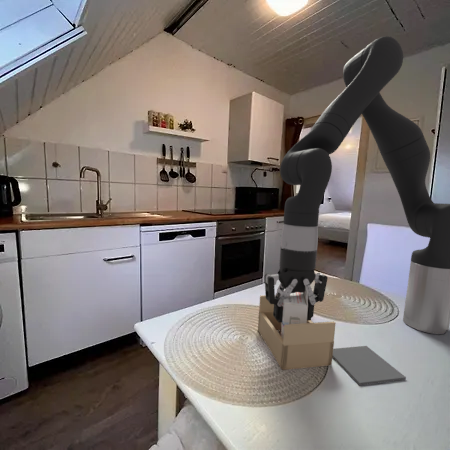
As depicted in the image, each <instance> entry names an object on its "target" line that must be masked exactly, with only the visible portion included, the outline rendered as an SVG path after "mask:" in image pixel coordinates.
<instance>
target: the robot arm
mask: <svg viewBox="0 0 450 450" xmlns="http://www.w3.org/2000/svg"><path fill="white" fill-rule="evenodd" d="M403 63H404V52H403V48H402V46H401V44H400V43H399V41H398V40H397V39H396V38H394V37H392V36H388V35H386V36H385V35H384V36H380V37H379V38H376V39H374V40H373V41H372V42H370V43H369V44H368V45H366V46H365V47H364V48H362V49H361V50H360V51H359V52H358V53H356V54H355V55H354V56H353V57H351V58H350V59H349V60H348V61H347V62H346V63H345V65H344V66H343V70H342V78H343V82H344V85H345V88H344V90H343V91H341V93H340V94H338V96H337V97H336V98H335V99H333V100H332V101H331V103H330V104H329V105H328V106H327V107H326V108H325V109H324V111H322V113H321V115H320V116H319V117H318V118H317V120H316V121H315V123H314V124H313V126H312V127H311V129H310V130H309V132H307V134H305V135H304V136H303V137H301V138H300V140H298V141H297V142H296V143H295V144H294V145H293V146H292V147H290V149H289V150H288V151H287V153H286V154H285V155H284V157H283V158H282V160H281V164H280V167H279V174H280V177H281V179H282V181H284V182H285V183H286V184H288V185H289V186H290V185H291V186H300V188H299V190H298V192H297V194H296V195H293V196H290V197H288V198H287V199H286V201H285V203H284V210H283V211H284V213H283V223H282V224H283V225H282V230H281V235H280V253H279V263H278V264H279V268H278V272H276V274H275V273H274V274H269V273H266V274H264V289H265V290H264V291H265V295H266V299H267V300H268V301H269V303H270V304H274V311H273V316H274V318H275V319H276V320H277V321H278V322H282V318H283V306H282V305H283V300H284V299H286V298H288V297H289V295H290V293H296V292H300V293H303V294H305V286H306V287H307V291H308V312H307V321H309V320H311V321H312V318H313V317H314V312H315V305H316V303H318V302H319V303H322V302H324V298H325V294H326V289H327V284H328V279H329V278H328V276H327V275H325V274H323V273H322V272H317V273H316V272H315V269H316V268H317V267H316V265H317V264H316V263H317V254H318V246H319V245H318V244H319V242H318V241H319V232H318V231H319V230H318V229H319V226H318V225H319V219H320V218H319V217H320V207H321V204H322V201H323V198H324V196H325V193H326V190H327V188H328V185H329V182H330V179H331V176H332V173H333V163H332V160H331V156H330V155H331V154H333V153H335V152H336V151H337V150H338V149H339V147H340V146H341V144H342V143H343V141H345V139H346V137H347V135H348V134H349V133H350V131H351V129H352V127H354V125H355V123H356V122H357V121H358V119H360V116H361V115H362V117H363V118H364V120H365V122H366V124H367V126H368V128H369V130H370V132H371V134H372V136H373V138H374V141H375V144H376V145H377V148H378V150H379V153H380V155H381V157H382V160H383V162H384V164H385V166H386V168H387V170H388V172H389V175H390V176H391V179H392V181H393V184H394V186H395V188H396V190H397V192H398V195H399V199H400V201H401V205H402V208H403V211H404V215H405V218H406V221H407V223H408V224H407V225H408V226H409V228H410V229H411V230H412V232H413V233H414V234H416V235H418V236H420V237H423V238H424V237H425V238H429V241H428V244H427V246H426V247H424V248H422V249H416V250H415V249H414V250H413V251H412V252H411V257H410V264H409V265H410V266H409V271H408V272H409V273H408V281H407V288H406V295H405V301H404V302H405V303H404V310H403V317H402V321H403V322H404V323H405V324H406V326H409V327H411V328H413V329H414V330H415V329H416V331H417V330H418V331H420V332H424V333H428V334H432V335H443V334H445V333H446V332H447V331H449V330H450V203H440V202H439V203H437V202H435V203H434V201H433V200H432V198H431V196H430V195H429V192H428V189H427V185H426V177H427V175H428V170H429V165H430V162H431V150H430V147H429V146H428V142H427V141H426V138H425V136H424V132H423V131H422V129H421V127H419V125H418V124H417V123H416V122H414V121H413V120H411V119H409V118H408V117H406V116H405V115H403V114H401V113H399V112H398V111H396V110H395V109H393V108H392V107H390V106H389V105H388V104H387V102H386V101H385V100H384V98H383V96H382V94H381V92H382V90H383V89H384V88H385V87H386V85H388V84H389V82H391V80H392V79H394V78H395V76H396V75H397V74H398V73H399V72H400V70H401V68H402V65H403ZM278 281H279V282H280V284H278V287H277V288H276V293H275V286H276V285H277V282H278ZM313 282H314V286H313V289H312V286H311V285H312V283H313ZM284 289H285V291H284Z"/></svg>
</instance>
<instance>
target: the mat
mask: <svg viewBox="0 0 450 450" xmlns="http://www.w3.org/2000/svg"><path fill="white" fill-rule="evenodd" d="M332 360H334V361H335V362H336V363H337V364H338V365H339V366H340V368H342V369H343V370H344V371H345V372H346V373H347V374H348V375H349V376H350V377H351V379H353V381H354V382H355V383H356V384H357V385H358V386H365V385H366V386H367V385H373V384H383V383H389V382H390V383H391V382H399V381H400V382H401V381H406V380H407V377H406V376H405V375H404V374H403V373H401V372H400V371H399V370H398V369H397V368H395V367H394V366H392V365H391V364H390V363H389V362H388V361H386V360H385V359H384V358H382V357H381V356H380V355H379V354H377V353H376V352H375V351H373V350H372V348H370V347H369V346H367V345H362V346H361V345H360V346H351V347H349V346H348V347H338V348H337V347H336V348H333V356H332Z"/></svg>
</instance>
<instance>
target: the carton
mask: <svg viewBox="0 0 450 450" xmlns="http://www.w3.org/2000/svg"><path fill="white" fill-rule="evenodd" d="M273 311H274V304H270V303H269V301H268V300H267V299H266V294H265V295H260V296H259V309H258V319H257V320H258V321H257V331H258V332H259V334H260V336H261V337H262V339H263V341H264V342H265V344H266V346H267V347H268V350H269V351H270V353H271V354H272V356H273V358H274V359H275V361H276V363H277V364H278V365H279V367H280V369H281V370H282V371H288V370H297V369H298V370H299V369H308V368H317V367H328V366H332V365H333V358H332V356H333V349H334V345H335V334H336V333H335V332H336V321H335V320H334V321H325V322H324V321H323V322H322V321H321V322H313V321H312V319H311V320H309V321H307V323H302V324H286V325H284V336H283V338H282V337H281V333H279V331H281V322H278V321H277V320H276V319H275V318H274V316H273Z"/></svg>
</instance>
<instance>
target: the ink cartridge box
mask: <svg viewBox="0 0 450 450" xmlns="http://www.w3.org/2000/svg"><path fill="white" fill-rule="evenodd" d="M284 291H285V289H284ZM282 306H283V318H282V322H281V330H280V336H281V337H282V338H283V336H284V325H286V324H302V323H307V312H308V291H307V287H306V286H305V294H303V293H300V292H296V293H290V295H289V297H288V298H286V299H284V300H283V305H282Z"/></svg>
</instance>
